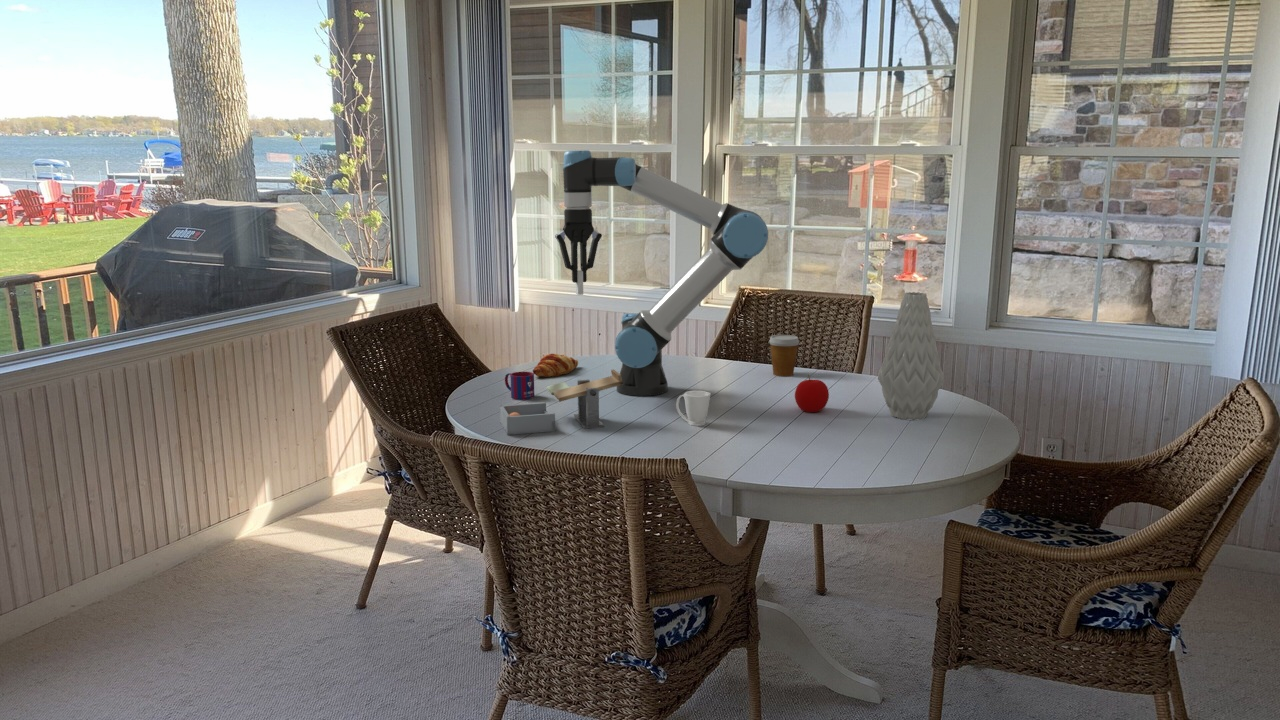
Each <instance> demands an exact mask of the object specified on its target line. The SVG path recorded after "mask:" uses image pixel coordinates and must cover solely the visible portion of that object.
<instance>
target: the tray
mask: <svg viewBox="0 0 1280 720" xmlns="http://www.w3.org/2000/svg"><path fill="white" fill-rule="evenodd" d="M513 412H516V413H519V414H520V415H521V416H509V415H510V414H511V413H513ZM499 421H500V425H501V426H502V428H503V430H504V431H505V433H506V434H507V436H511V435H512V436H513V435H523V434H524V435H525V434H537V433H547V432H549V433H551V432H555V431H556V413H554V412H551V413H550V412H548V411H547V403H546V402H544V401H543V402H536V403H534V402H532V403H522V404H520V403H519V404H507V405H506V404H505V405H499Z"/></svg>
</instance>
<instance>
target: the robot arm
mask: <svg viewBox="0 0 1280 720" xmlns="http://www.w3.org/2000/svg"><path fill="white" fill-rule="evenodd" d="M562 171H563V176H562V177H563V206H564V208H565V209H564V210H563V212H564V213H563V214H564V215H563V217H564V226H563V228H562V231H561V232H559V233H556V234H555V235H554V238H555V239H556V241H557V242H558V245H559V249H560V252H561V256H562V260H563V263H564V267H565V268H566V269H568V270H570V271H571V281H572V283H575V294H576V295H578V296H580V295H581V296H583V295H584V283H587V279H588V275H587V271H588V270H590V269H592V268H594V264H595V260H596V255H597V249H598V246H599V242H600V240H601V238H602V233H599V232H597V231H596V230H595V228H594V226H593V212H592V208H591V207H592V206H593V203H592V202H593V201H592V196H593V195H592V192H593V191H592V187H598V186H599V187H604V186H605V187H620V188H622V189H624V190H627V191H630V192H632V193H633V194H636V195H638V196H640V197H641V198H644V199H646V200H648V201H651V202H652V203H655V204H657V205H659V206H661V207H663V208H665V209H668V211H669V210H670V211H671V212H674V213H676V214H678V215H680V216H682V217H684V218H686V219H689V220H690V221H692V222H694V223H697V224H699V225H701V226H702V227H704V228H707V229H709V230H710V232H711V234H712V235H713V236H712V237H711V238H710V239H709V248H708V249H707V250H706V251H705V252H704V253H703V254H702V255H701V257H699V258H698V260H696V261H695V262H694V263H693V265H691V266H690V267H689V269H687V271H685V273H684V274H683V275H682V276H681V277H680V278H679V279H678V280H677V281H676V282H675V283H674V284H673V285H672V286H671V287H670V288H669V290H668V291H666V292H665V293H664V294H663V295H662V297H660V298H659V299H658V300H657V302H656V303H655V304H654V305H653V306H652V307H651V308H650V309H648V310H640V311H639V312H636V313H634V312H633V313H631V312H630V313H627V312H626V313H624V314H623V315H622V317H621V326H622V327H621V331H620V332H619V333H618V334H617V336H616V337H615V341H614V350H615V354H616V356H617V358H618V359H619V361H620V362H622V364H621V367H620V371H619V374H620V375H621V377H622V382H623V385H619V386H616V391H617V392H618V393H619V394H623V395H626V396H627V395H628V396H638V397H639V396H641V397H644V396H645V397H646V396H657V395H661V394H664V393H666V392H668V385H669V384H668V379H667V377H666V374H665V370H664V367H663V363H662V362H663V360H662V359H663V355H662V354H663V353H662V352H663V349H664V348H665V347H666V346H667V345H668V344H669V343H670V341H672V332H673V331H674V330H675V329H676V328H677V327H678V326H679V325H680V324H681V323H682V322H683V321H684V319H686V317H688V316H689V315H690V313H692V311H694V310H695V308H696V307H697V306H699V304H701V303H702V301H703V300H704V299H705V298H706V297H708V295H709V294H710V293H711V292H712V291H714V289H715V288H716V287H717V286H719V284H721V283H722V281H723V280H724V279H725V278H727V276H728V275H729V274H730V273H731V272H732V271H735V270H736V271H737V270H740V271H741V270H742V269H743V268H744V267H745V265H747V264H748V263H749V262H750V261H751V260H752V259H753V258H754V257H756V256H758V255H759V254H761V252H762V251H763V250H764V249H765V248H766V246H767V243H768V240H769V230H768V226H767V224H766V222H765V221H764V219H763V217H762V216H760V215H759V214H758V213H757V212H755V211H751V210H747V209H743V208H740V207H737V206H735V205H733V204H731V203H727V202H726V203H722V204H721V202H720V203H719V202H717V201H715V200H713V199H711V198H709V197H707V196H704V195H703V194H702V193H698V192H697V191H694V190H692V189H689V188H688V187H686V186H683V185H681V184H679V183H677V182H675V181H672V180H671V179H669V178H666V177H664V176H662V175H660V174H658V173H657V172H656V173H655V172H654V171H651V170H650V169H647V168H645V167H643V166H640V165H638V164H637V163H636V160H635V159H634V158H632V157H625V156H619V157H593V156H592V152H591V151H590V150H589V149H588V150H578V149H577V150H576V149H575V150H566V151H565V152H564V154H563V166H562ZM565 236H566V237H565ZM566 238H567V239H568V241H570V256H569V253H568V252H569V251H568V248H567V244H566V241H565V240H566ZM590 238H592V241H591V244H590V248H589V252H588V251H587V246H588V240H589V239H590ZM578 245H579V253H580V254H579V256H580V257H579V256H578ZM587 252H588V253H589V254H588V253H587ZM587 254H588V256H587ZM578 257H579V259H580V260H579V261H580V265H578V264H579V263H578V262H579V261H578ZM570 259H571V260H570ZM579 266H580V270H579V269H578V267H579Z"/></svg>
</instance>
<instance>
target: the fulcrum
mask: <svg viewBox="0 0 1280 720" xmlns="http://www.w3.org/2000/svg"><path fill="white" fill-rule="evenodd" d="M588 382H591V381H590V379H578V380H577V385H580V384H584V383H588ZM599 393H600V391H599V388H586V395H583V396H579V397H577V413H576V414H573V418H574V419H575V420H576V421H577V422H578V423H579V424H580V425H581V427H582V428H583V429H593V428H594V429H595V428H605V427H604V426H605V425H604V424H603V423H602V422H601V420H600V397H599V396H600V394H599Z"/></svg>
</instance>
